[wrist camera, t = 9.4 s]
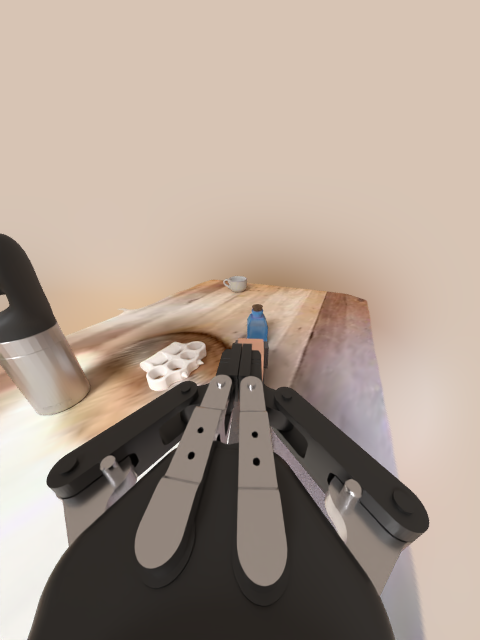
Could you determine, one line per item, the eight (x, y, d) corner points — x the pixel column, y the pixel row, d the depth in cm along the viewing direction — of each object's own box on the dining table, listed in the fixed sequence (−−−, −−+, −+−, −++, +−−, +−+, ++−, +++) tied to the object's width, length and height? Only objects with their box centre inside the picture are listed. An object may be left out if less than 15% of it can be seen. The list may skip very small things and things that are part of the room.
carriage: (262, 403, 35) (264, 358, 31) (236, 402, 36) (234, 357, 31) (261, 380, 41) (263, 339, 36) (239, 379, 41) (238, 338, 37)
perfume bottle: (247, 334, 64) (247, 302, 58) (265, 334, 63) (266, 302, 58) (247, 344, 58) (247, 310, 53) (266, 344, 58) (268, 310, 52)
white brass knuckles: (182, 343, 60) (217, 356, 54) (129, 377, 46) (169, 400, 40) (180, 334, 59) (216, 346, 52) (126, 367, 45) (166, 389, 38)
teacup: (247, 288, 115) (247, 276, 111) (245, 294, 105) (245, 280, 101) (226, 288, 117) (225, 275, 113) (222, 293, 107) (221, 280, 104)
